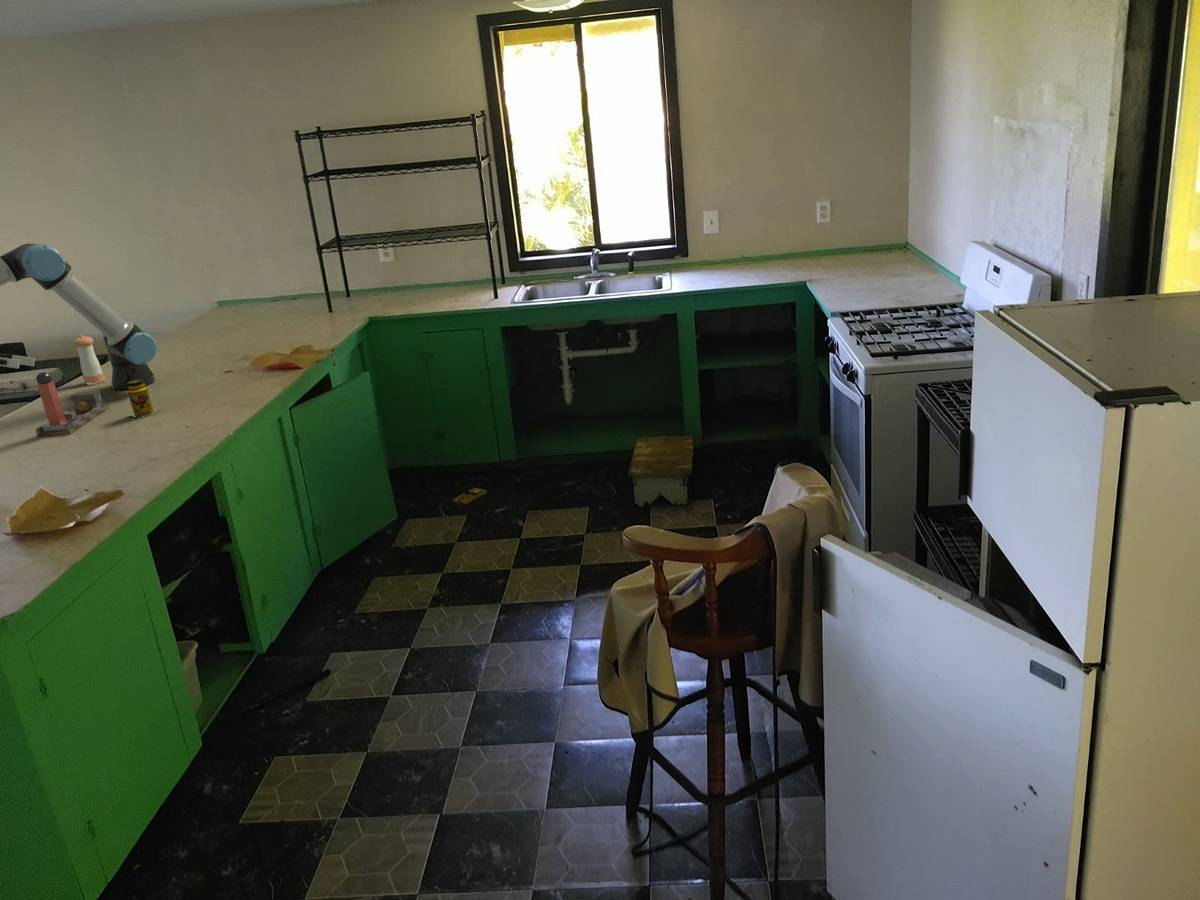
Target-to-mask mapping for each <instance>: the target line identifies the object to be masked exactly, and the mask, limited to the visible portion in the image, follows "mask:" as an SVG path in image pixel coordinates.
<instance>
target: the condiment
mask: <svg viewBox="0 0 1200 900" xmlns="http://www.w3.org/2000/svg"><path fill="white" fill-rule="evenodd" d="M127 385H128V389H127V394H128V398H129V400H130V401H129V402H130V404H131V407H132V408H131V409H132V410H133V411H132V412H133V414H135V416H136V417H142V416H147V415H149V416H151V415H150V414H152V413H153V410H154V409H153V407H154V406H153V405H152V400H151V397H150V395H149V394H150V393H149V391H148V388H147V387H146V386H145V384H144V381H143V380H142V379H137V380H132V381H130V382H128V383H127ZM157 411H158V412H157V413H159V412H160V410H157ZM152 415H153V414H152ZM147 417H148V416H147Z"/></svg>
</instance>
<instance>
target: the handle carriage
mask: <svg viewBox="0 0 1200 900" xmlns="http://www.w3.org/2000/svg"><path fill="white" fill-rule="evenodd" d="M35 379H36V383H37V384H36V386H37V389H38V392H39V395H40V398H41V401H42V405H43V408H44V411H45V414H46V417H47V421H49V423H48V424H46V425H44V426H43V427H42V429H43V432H44V431H55V430H65V429H66V427H65V426H67V425H69V424H70V423H72V422H73V421H75V420H76V419H77V416H76V413H75V412H73V411H71V412H65V411H63V410H64V409H63V406H62V404H61V403H62V402H61V401H60V398H59V394H58V390H57V387H56V383H55V382H54V380H53V378H52V376H51V374H50V373H48V372H40V373H38V374H37V375H36V378H35ZM63 412H65V413H63Z"/></svg>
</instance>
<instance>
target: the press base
mask: <svg viewBox="0 0 1200 900" xmlns="http://www.w3.org/2000/svg"><path fill="white" fill-rule="evenodd" d="M101 395H102V394H101V392H100V390H98V389H97V390H87V391H85V390H84V391H76V392H75V393H73V394H71V395H70V397H71V400H72V405H73V407H74V410H73V411H71V409H66V410H64V411H63V413H65V412H75V413H76V416H77V419H76V420H75V421H73V422H72V423H70V424H69V425H67V426H65V427H66V429H65V430H55V431H44V432H43V429H42V427H43V426H44V425H46V424H48V423H49V420H47V421H46V422H45V423H44V424H42V425H40V426H38V427H37V428H35V434H36V435H37V438H43V437H44V438H45V436H47V437H57V436H56V435H58V436H64V435H63V434H69V435H72V434H73V433H75V432H76V431H75V430H77V429H78V430H80V429H81V428H83V427H84V426H85V424H86V423H87V424H89V423H90V422H92V421H93V420H95V419H96V418H98V417H99V416H101V415H102V414H104V413H105V412H107V411H108V410H110V409H109V406H108V405H105V406H104V403H103V399H102V396H101ZM106 410H107V411H106ZM103 412H104V413H103ZM101 413H102V414H101ZM100 414H101V415H100ZM98 415H99V416H98ZM97 416H98V417H97ZM95 417H96V418H95ZM94 418H95V419H94ZM92 419H93V420H92ZM91 420H92V421H91ZM89 421H90V422H89ZM88 422H89V423H88ZM87 424H86V425H87ZM83 425H84V426H83ZM82 426H83V427H82ZM80 427H81V428H80ZM79 428H80V429H79ZM78 430H77V431H78ZM74 431H75V432H74ZM72 432H73V433H72ZM71 433H72V434H71Z"/></svg>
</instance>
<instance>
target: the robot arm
mask: <svg viewBox="0 0 1200 900" xmlns="http://www.w3.org/2000/svg"><path fill="white" fill-rule="evenodd" d="M30 278H31V279H32V280H33V281H35V282H36V284H38V285H39V286H41V287H42V288H43V289H44V290H45V291H53V292H54V293H55V294H57V295H58V296H59V297H60V298H61V299H62V300H63V301H64V302H65V303H67V304H68V305H69V306H71V307H72V308H73V310H75V311H76V312H77V313H78V314H80V315H81V316H82V317H83V318H84V319H85V320H87V322H89V324H91V325H92V326H93V327H94V328H96V330H98V331H99V332H101V334H102V339H103V341H104V344H105V348H106V351H107V354H108V358H109V361H110V364H111V369H112V372H111V386H112V389H113V390H115V389H117V391H125V390H126V389H127V390H129V389H128V385H127V383H128V382H130V381H132V380H137V379H142V380H143V381H144V384H145V387H146V386H148V385H150V384H151V385H152V383H154V382H156V378H155V375H154V373H153V371H152V370H151V368H150V367H149V366H148V363H150V362H152V360H153V359H154V358H156V355H157V353H158V344H157V340H156V339H155V338H154V337H153V336H152V335H151V334H149V333H147V332H144V331H143V330H142V329H141V328H140V327H138V325H136V324H135V323H134V322H133V321H129V320H128V321H126V320H125V319H123V317H121V315H120V314H118V313H117V312H116V311H114V310H113V308H111V307H110V306H109V305H108V304H107V303H106V302H104V301H103V300H102V298H100V297H99V296H98V295H97V294H96V293H94V292H93V291H92V289H90V288H89V287H88V286H87V285H86V284H85V283H84V282H83V281H81V280H80V279H79V278H78V277H77V276H76V275H74V273H73V267H72V265H70V264H69V263H68V262H67V260H65V259H64V256H63V255H62V254H61V252H59V250H57V249H55V247H52V246H49V245H47V244H42V243H41V244H40V243H31V242H30V243H25V244H22V245H19V246H16V247H15V248H14V249H11V250H10V251H8V252H6V253H4V254H2V255H0V287H2V286H4V285H6V284H7V283H15V284H16V283H18V282H20V281H22V280H26V279H30ZM35 360H36V359H35V357H29V356H23V355H22V356H21V355H17V354H16V355H15V354H14V352H10V354H9V353H1V352H0V367H5V368H11V369H20V366H21V365H22V366H29V367H35Z"/></svg>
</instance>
